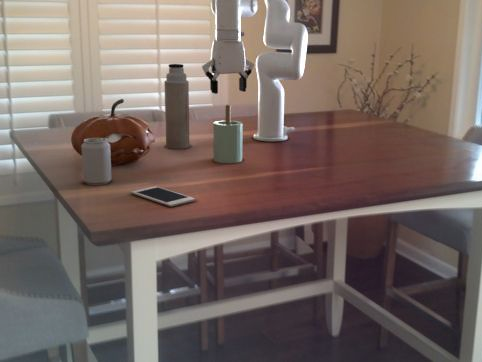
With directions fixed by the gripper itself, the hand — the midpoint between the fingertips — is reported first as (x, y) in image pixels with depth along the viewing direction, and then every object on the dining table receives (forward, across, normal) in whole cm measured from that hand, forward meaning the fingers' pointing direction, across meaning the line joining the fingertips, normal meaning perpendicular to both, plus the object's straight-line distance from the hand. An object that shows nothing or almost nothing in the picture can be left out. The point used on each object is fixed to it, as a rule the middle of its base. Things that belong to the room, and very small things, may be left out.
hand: (228, 92), depth 207 cm
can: (+21, +45, +9) cm, 50 cm away
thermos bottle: (+22, +7, -25) cm, 34 cm away
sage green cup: (+22, +1, +1) cm, 22 cm away
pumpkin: (+21, +33, -13) cm, 41 cm away
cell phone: (+21, +35, +31) cm, 51 cm away
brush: (+21, +1, +1) cm, 21 cm away
